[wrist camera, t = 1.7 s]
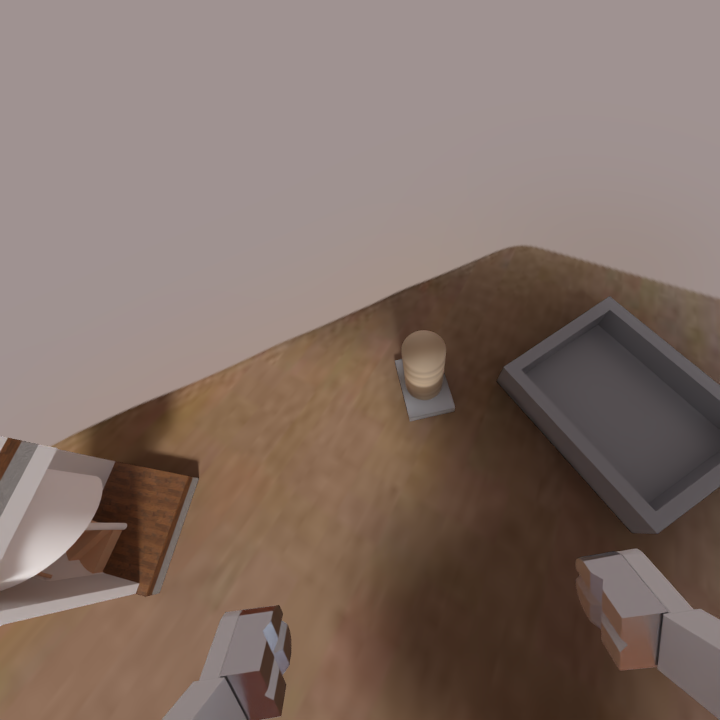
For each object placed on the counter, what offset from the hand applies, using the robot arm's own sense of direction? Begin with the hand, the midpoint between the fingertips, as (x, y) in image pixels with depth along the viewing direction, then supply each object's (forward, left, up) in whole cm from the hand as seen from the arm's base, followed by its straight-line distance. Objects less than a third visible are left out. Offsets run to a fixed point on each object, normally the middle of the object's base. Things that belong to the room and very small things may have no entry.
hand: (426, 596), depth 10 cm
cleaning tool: (+13, -9, -28) cm, 32 cm away
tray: (0, -23, -28) cm, 36 cm away
